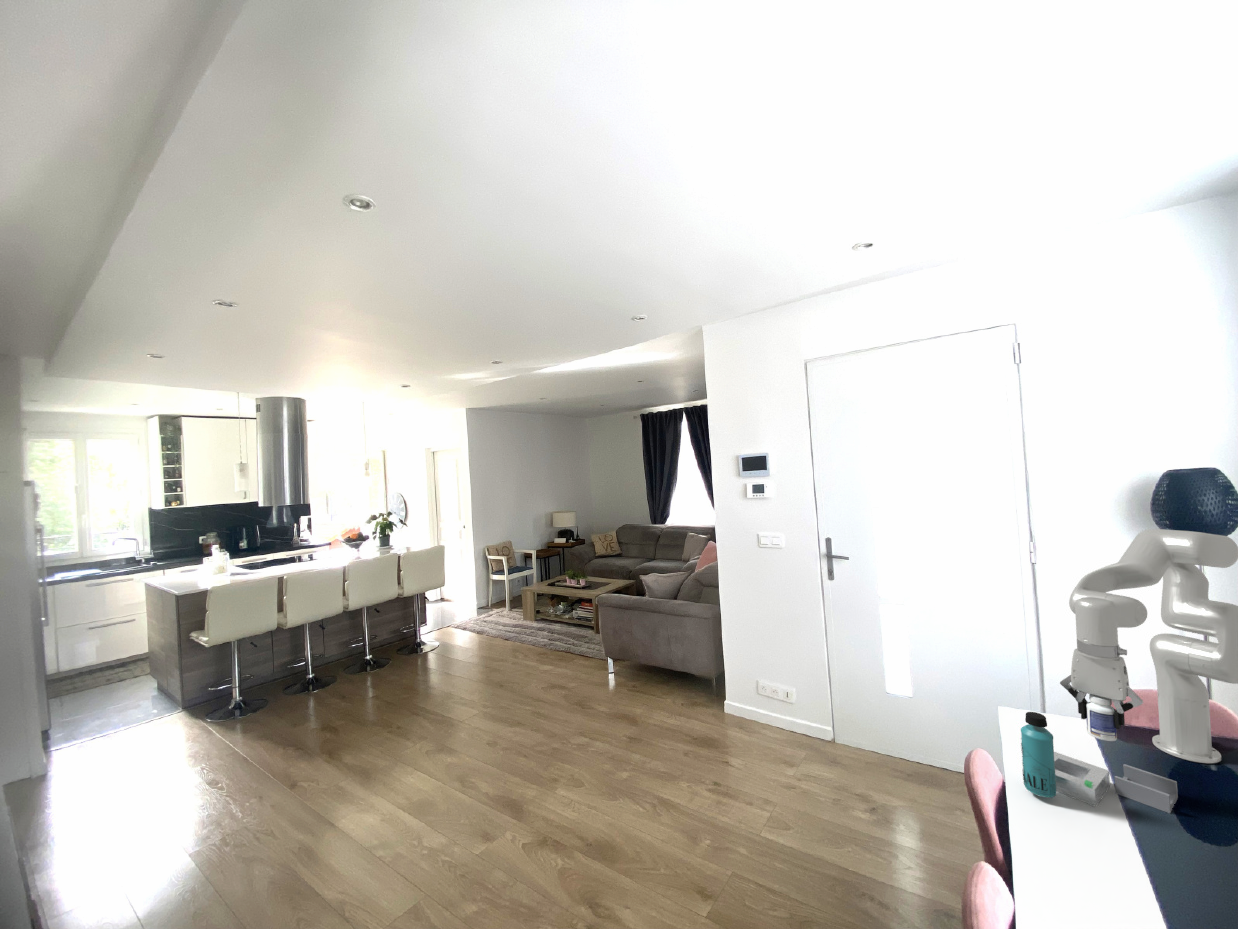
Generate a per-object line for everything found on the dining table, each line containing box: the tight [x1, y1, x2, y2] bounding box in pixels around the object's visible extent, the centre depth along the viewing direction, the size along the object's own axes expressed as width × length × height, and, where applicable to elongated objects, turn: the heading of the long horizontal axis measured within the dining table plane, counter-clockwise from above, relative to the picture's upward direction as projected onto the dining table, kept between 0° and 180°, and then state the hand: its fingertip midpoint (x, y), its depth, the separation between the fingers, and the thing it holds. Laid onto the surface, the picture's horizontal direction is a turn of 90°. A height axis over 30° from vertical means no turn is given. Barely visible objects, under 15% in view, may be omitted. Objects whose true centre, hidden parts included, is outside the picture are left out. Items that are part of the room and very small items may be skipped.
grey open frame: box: [1114, 763, 1179, 814], centre depth 122 cm, size 9×9×4 cm
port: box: [1054, 751, 1111, 807], centre depth 127 cm, size 12×12×5 cm
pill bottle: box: [1086, 694, 1118, 742], centre depth 124 cm, size 5×5×10 cm
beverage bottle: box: [1020, 711, 1057, 798], centre depth 123 cm, size 6×7×20 cm
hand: (1101, 721), depth 124 cm, fingers closed on pill bottle, 5 cm apart
